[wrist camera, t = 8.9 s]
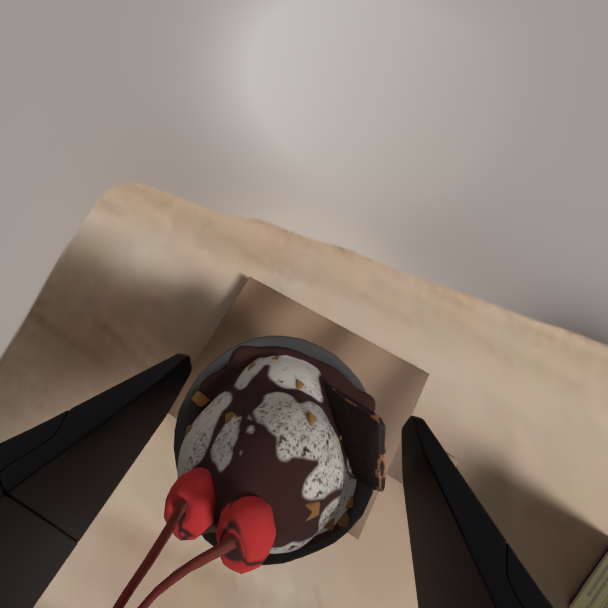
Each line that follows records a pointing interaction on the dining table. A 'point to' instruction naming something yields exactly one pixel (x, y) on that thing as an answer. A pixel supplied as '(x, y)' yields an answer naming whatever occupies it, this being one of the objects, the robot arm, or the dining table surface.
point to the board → (336, 339)
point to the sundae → (269, 458)
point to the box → (594, 588)
